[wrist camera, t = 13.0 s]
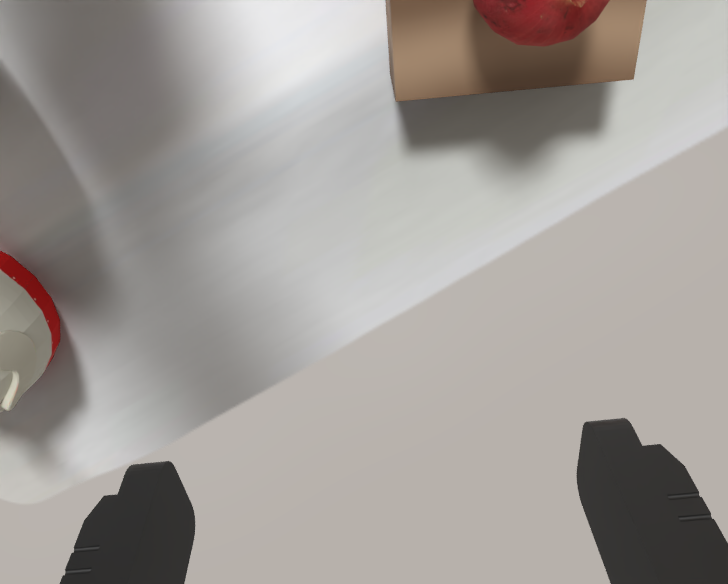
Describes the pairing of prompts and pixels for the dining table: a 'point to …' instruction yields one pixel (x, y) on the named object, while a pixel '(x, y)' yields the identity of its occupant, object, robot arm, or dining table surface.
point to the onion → (539, 19)
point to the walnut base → (501, 51)
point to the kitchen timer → (23, 331)
